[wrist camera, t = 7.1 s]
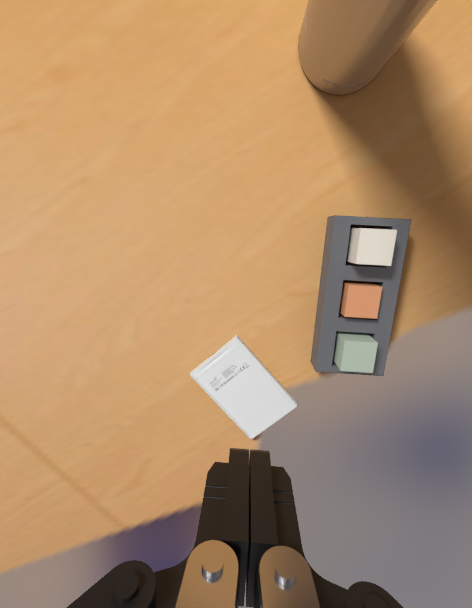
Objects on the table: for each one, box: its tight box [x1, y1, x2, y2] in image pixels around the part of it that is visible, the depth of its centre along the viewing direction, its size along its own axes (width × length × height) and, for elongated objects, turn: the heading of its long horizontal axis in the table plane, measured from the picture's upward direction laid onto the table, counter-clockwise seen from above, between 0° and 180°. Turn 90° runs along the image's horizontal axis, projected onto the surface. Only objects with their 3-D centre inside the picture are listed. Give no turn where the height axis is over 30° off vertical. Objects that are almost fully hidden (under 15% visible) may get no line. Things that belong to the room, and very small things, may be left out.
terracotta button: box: [339, 280, 382, 319], centre depth 35 cm, size 4×4×3 cm
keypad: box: [311, 216, 411, 376], centre depth 35 cm, size 18×8×3 cm, turn 177°
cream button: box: [346, 228, 397, 266], centre depth 32 cm, size 4×4×3 cm
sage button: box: [333, 331, 378, 373], centre depth 35 cm, size 4×4×3 cm
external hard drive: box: [190, 335, 297, 439], centre depth 40 cm, size 2×8×12 cm
